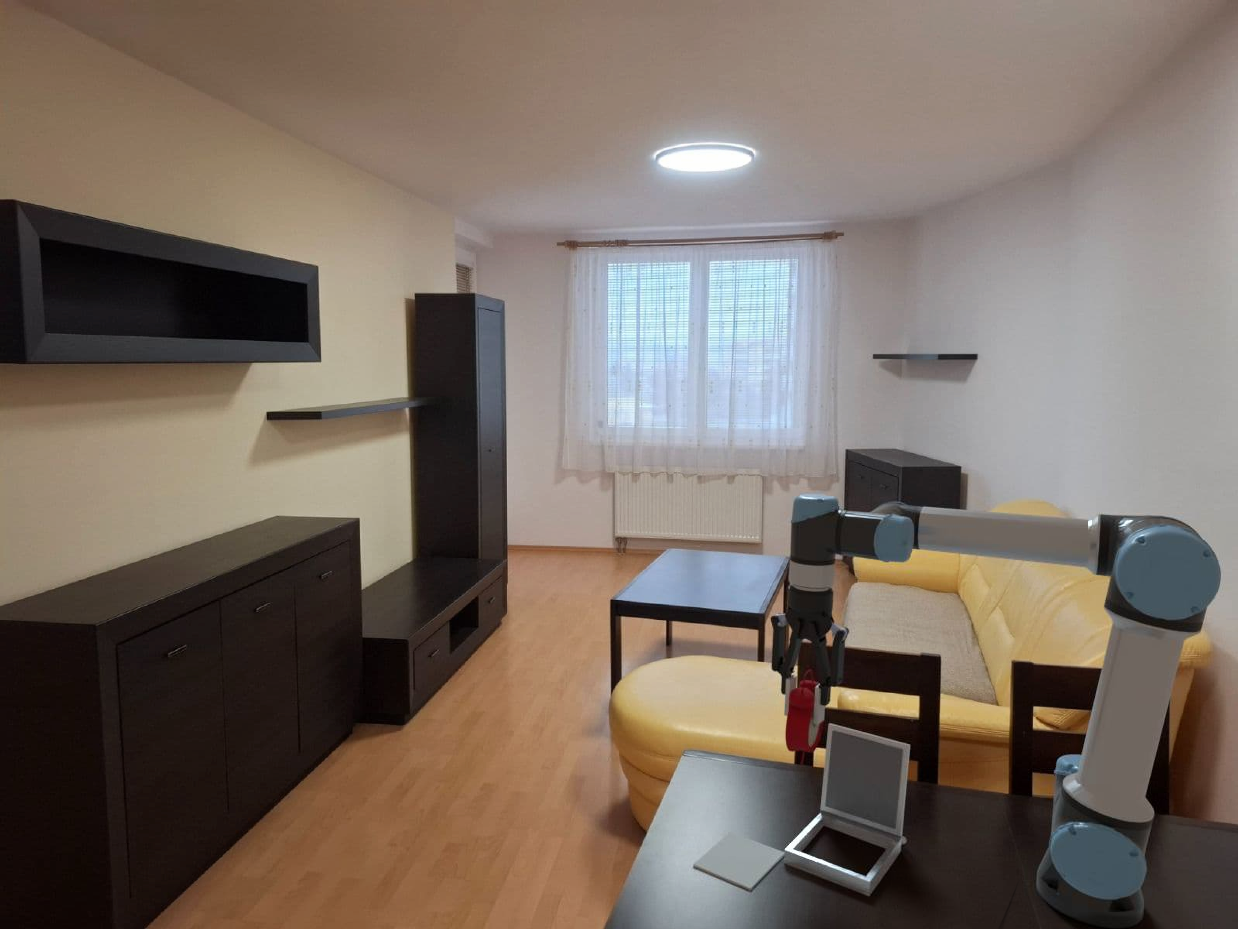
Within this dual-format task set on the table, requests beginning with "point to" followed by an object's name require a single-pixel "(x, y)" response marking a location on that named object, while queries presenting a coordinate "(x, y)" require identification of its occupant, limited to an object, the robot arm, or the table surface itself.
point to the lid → (865, 778)
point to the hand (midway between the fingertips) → (804, 717)
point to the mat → (739, 860)
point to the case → (836, 873)
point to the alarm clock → (802, 719)
